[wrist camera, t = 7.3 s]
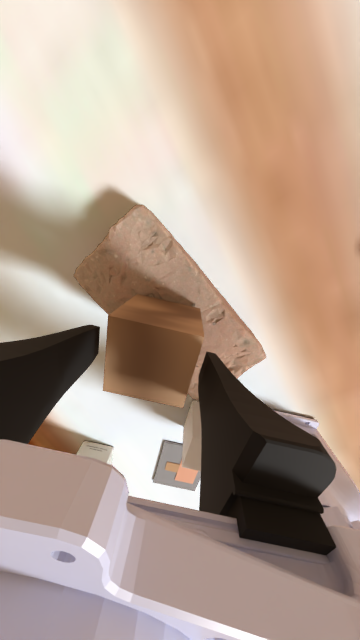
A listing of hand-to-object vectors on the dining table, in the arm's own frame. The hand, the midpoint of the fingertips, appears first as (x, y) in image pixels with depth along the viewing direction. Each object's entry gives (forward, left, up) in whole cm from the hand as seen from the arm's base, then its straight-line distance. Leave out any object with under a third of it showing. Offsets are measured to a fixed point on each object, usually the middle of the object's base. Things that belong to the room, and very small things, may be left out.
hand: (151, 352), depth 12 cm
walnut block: (0, 0, -3) cm, 3 cm away
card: (-7, +24, -7) cm, 26 cm away
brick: (-1, -1, -8) cm, 8 cm away
